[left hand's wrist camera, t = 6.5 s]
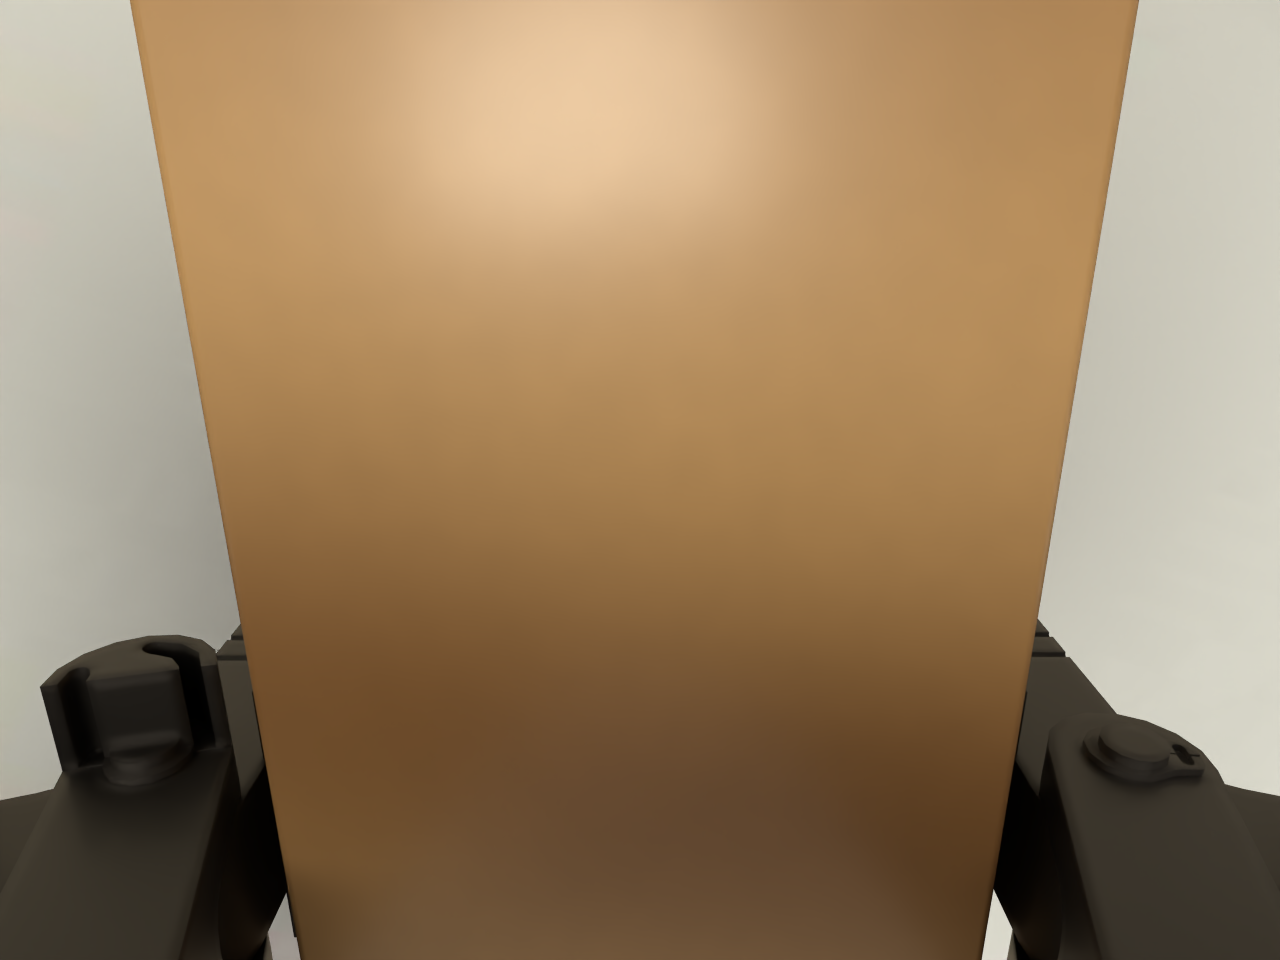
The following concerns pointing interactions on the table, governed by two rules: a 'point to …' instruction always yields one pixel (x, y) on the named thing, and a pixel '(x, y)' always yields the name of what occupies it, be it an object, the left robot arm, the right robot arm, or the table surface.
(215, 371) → the beam
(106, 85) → the table surface
